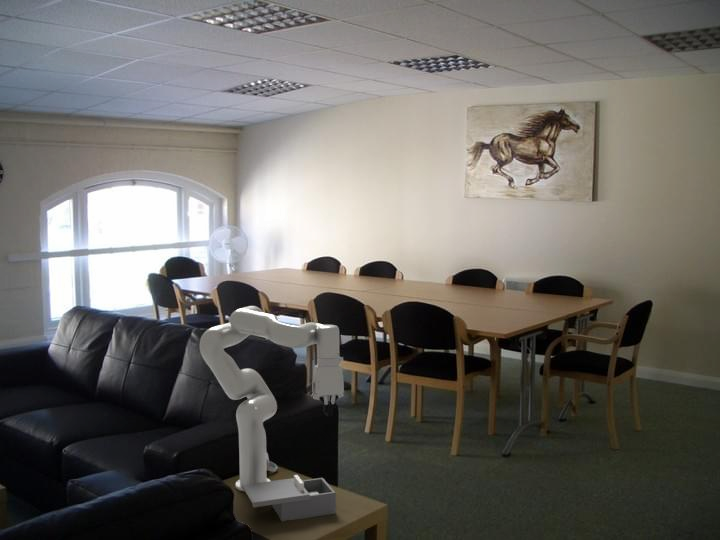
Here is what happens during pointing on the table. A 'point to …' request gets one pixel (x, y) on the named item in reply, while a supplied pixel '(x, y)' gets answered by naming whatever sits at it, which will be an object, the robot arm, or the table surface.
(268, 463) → the ceramic mug
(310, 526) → the table surface
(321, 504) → the base
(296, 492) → the lid
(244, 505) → the table surface
